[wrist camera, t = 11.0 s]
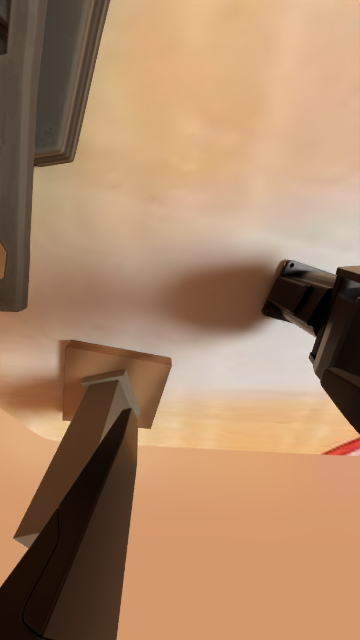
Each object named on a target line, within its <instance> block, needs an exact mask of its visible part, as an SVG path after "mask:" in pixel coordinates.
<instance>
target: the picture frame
mask: <svg viewBox="0 0 360 640" xmlns="http://www.w3.org/2000/svg"><path fill="white" fill-rule="evenodd" d="M81 384H82V386H83V388H84V390H85V392H86V393H85V395H84V397H83V399H82V401H81V403H80V405H79V407H78V409H77V411H76V413H75V415H74V417H73V419H72V421H71V423H70V425H69V427H68V429H67V431H66V433H65V435H64V437H63V439H62V441H61V443H60V445H59V447H58V449H57V451H56V453H55V455H54V457H53V459H52V461H51V463H50V465H49V467H48V469H47V471H46V473H45V475H44V477H43V479H42V482H41V483H40V485H39V487H38V489H37V491H36V493H35V495H34V497H33V499H32V501H31V504H30V505H29V507H28V509H27V512H26V513H25V515H24V517H23V519H22V521H21V524H20V526H19V528H18V530H17V531H16V533H15V535H14V537H13V538H14V539H15V540H17V541H18V542H20V543H22V544H23V545H24V546H26V547H28V548H30V546H31V545H32V543H33V542H34V540H35V539H36V537H37V536H38V535H39V533H40V532H41V530H42V529H43V527H44V526H45V524H46V523H47V521H48V520H49V518H50V517H51V515H52V514H53V513H54V511H55V510H56V508H58V506H59V504H60V502H61V501H62V499H63V498H64V496H65V495H66V493H67V492H68V490H69V489H70V487H71V486H72V484H73V483H74V481H75V480H76V478H77V477H78V475H79V474H80V472H81V471H82V469H83V468H84V466H85V465H86V463H87V462H88V460H89V459H90V457H91V456H92V454H93V453H94V451H95V450H96V449H97V447H98V446H99V444H100V443H101V441H102V440H103V438H104V437H105V435H106V434H107V432H108V431H109V429H110V428H111V426H112V425H113V423H114V422H115V420H116V419H117V417H118V416H119V414H120V413H121V411H122V410H123V409H126V408H133V410H134V412H135V415H136V416H138V415H140V406H139V403H138V401H137V398H136V395H135V393H134V390H133V387H132V385H131V382H130V379H129V377H128V374H127V371H126V369H125V370H120V371H115V372H109V373H104V374H99V375H93V376H88V377H84V379H83V381H82V383H81Z"/></svg>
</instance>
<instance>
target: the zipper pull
mask: <svg viewBox="0 0 360 640" xmlns="http://www.w3.org/2000/svg"><path fill="white" fill-rule="evenodd" d="M109 3H110V0H0V242H1V243H2V245H3V247H4V249H5V251H6V252H7V253H6V263H5V272H4V278H2V279H0V311H7V312H19V311H22V310H24V309H26V308H27V301H28V283H29V265H30V232H31V211H32V191H33V170H34V165H36V166H39V167H43V166H49V165H56V164H62V163H68V162H72V161H73V160H74V157H75V154H76V150H77V145H78V141H79V136H80V132H81V127H82V122H83V118H84V113H85V109H86V104H87V100H88V95H89V91H90V86H91V82H92V77H93V72H94V68H95V63H96V59H97V54H98V50H99V45H100V41H101V36H102V32H103V28H104V24H105V20H106V15H107V11H108V7H109Z"/></svg>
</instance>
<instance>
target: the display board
mask: <svg viewBox="0 0 360 640" xmlns="http://www.w3.org/2000/svg"><path fill="white" fill-rule="evenodd" d="M171 366H172V363H171V358H168V357H163V356H157V355H152V354H146V353H141V352H135V351H130V350H124V349H119V348H113V347H108V346H102V345H97V344H91V343H86V342H80V341H75V340H71V342H70V343H69V344H68V345H67V346H66V348H65V373H64V398H63V421H72V419H73V417H74V415H75V413H76V411H77V409H78V407H79V405H80V403H81V401H82V399H83V397H84V395H85V393H86V392H85V390H84V388H83V386H82V384H81V383H82V381H83V379H84V377H88V376H93V375H99V374H104V373H109V372H115V371H120V370H125V369H126V371H127V374H128V377H129V379H130V382H131V385H132V387H133V390H134V393H135V395H136V398H137V401H138V403H139V406H140V415H138V416H136V417H137V420H138V428H147V429H151V426H152V423H153V420H154V417H155V414H156V411H157V408H158V405H159V402H160V399H161V396H162V393H163V390H164V387H165V384H166V381H167V378H168V375H169V372H170V369H171Z"/></svg>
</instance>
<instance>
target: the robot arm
mask: <svg viewBox="0 0 360 640" xmlns="http://www.w3.org/2000/svg"><path fill="white" fill-rule="evenodd" d="M291 263H292V265H291V267H290V264H291ZM336 275H337V276H336ZM336 275H334V274H331V273H329V272H326V271H323V270H320V269H317V268H314V267H311V266H308V265H305V264H303V263H300V262H297V261H293V260H289V261H287V262H286V264H285V266H284V268H283V270H282V272H281V274H280V276H279V278H278V279H277V281H276V283H275V285H274V287H273V289H272V291H271V293H270V295H269V297H268V299H267V301H266V303H265V305H264V307H263V309H262V314H263V315H265V316H268V317H272V318H276V319H280V320H284V321H287V322H291V323H294V324H296V325H297V326H299V327H300V328H302V329H303V330H305V331H306V332H308V333H310V334H311V335H313V336H314V337H316V340H315V344H314V347H313V350H312V352H311V353H310V355H309V359H310V361H311V362H312V364H313V368H314V372H315V374H316V375H317V376H318V378H319V379H320V383H321V386H322V387H323V389H324V390H325V391H326V393H327V394H328V395H329V397H330V398H331V399H332V401H333V402H334V403H335V405H336V406H337V407H338V409H339V410H340V412H341V413H342V414H343V415H344V417H345V418H346V419H347V420H348V422H349V423H350V424H351V425H352V426H353V427H354V429H355V430H356V431H357V432H358V433H359V434H360V266H348V267H338V268H337V271H336ZM267 310H268V311H267ZM266 311H267V312H266ZM265 312H266V313H265ZM137 441H138V420H137V417H136V415H135V412H134V410H133V408H126V409H123V410H122V411H121V413H120V414H119V416H118V417H117V419H116V420H115V422H114V423H113V425H112V426H111V428H110V429H109V431H108V432H107V434H106V435H105V437H104V438H103V440H102V441H101V443H100V444H99V446H98V447H97V449H96V450H95V451H94V453H93V454H92V456H91V457H90V459H89V460H88V462H87V463H86V465H85V466H84V468H83V469H82V471H81V472H80V474H79V475H78V477H77V478H76V480H75V481H74V483H73V484H72V486H71V487H70V489H69V490H68V492H67V493H66V495H65V496H64V498H63V499H62V501H61V502H60V504H59V506H58V508H56V510H55V511H54V513H53V514H52V515H51V517H50V518H49V520H48V521H47V523H46V524H45V526H44V527H43V529H42V530H41V532H40V533H39V535H38V536H37V537H36V539H35V540H34V542H33V543H32V545H31V546H30V548H29V549H28V550H27V552H26V553H25V554H24V556H23V557H22V558H21V560H20V562H19V563H18V564H17V566H16V567H15V568H14V569H13V571H12V572H11V574H10V575H9V576H8V578H7V579H6V580H5V582H4V583H3V584H2V586H1V587H0V640H116V639H117V630H118V622H119V613H120V604H121V596H122V587H123V578H124V570H125V562H126V553H127V544H128V535H129V527H130V518H131V510H132V501H133V493H134V485H135V476H136V467H137Z"/></svg>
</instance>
